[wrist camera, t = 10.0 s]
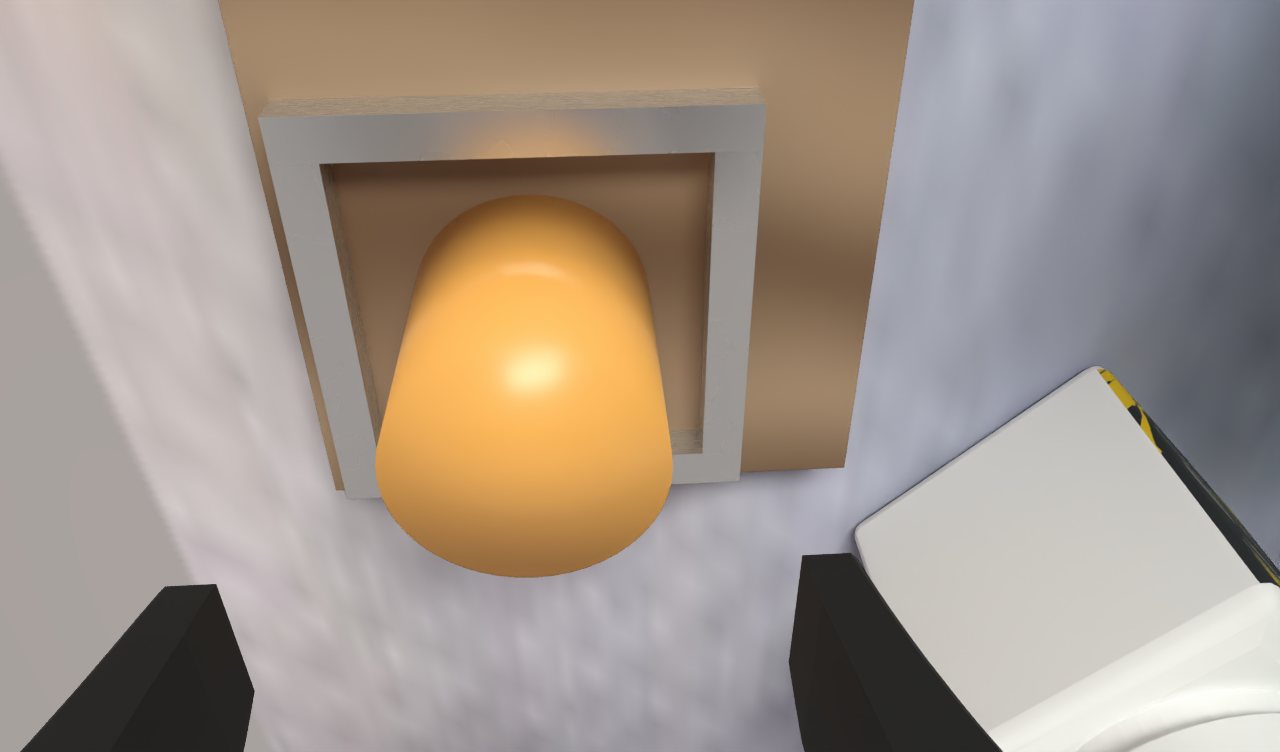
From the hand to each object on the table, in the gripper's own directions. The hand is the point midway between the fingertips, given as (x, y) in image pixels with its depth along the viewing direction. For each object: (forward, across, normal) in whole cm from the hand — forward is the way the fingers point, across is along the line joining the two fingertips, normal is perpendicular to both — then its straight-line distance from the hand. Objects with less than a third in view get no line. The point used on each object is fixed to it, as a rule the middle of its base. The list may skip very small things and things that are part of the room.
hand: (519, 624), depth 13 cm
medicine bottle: (+10, -12, +8) cm, 17 cm away
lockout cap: (+8, 0, 0) cm, 8 cm away
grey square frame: (+8, 0, 0) cm, 8 cm away
